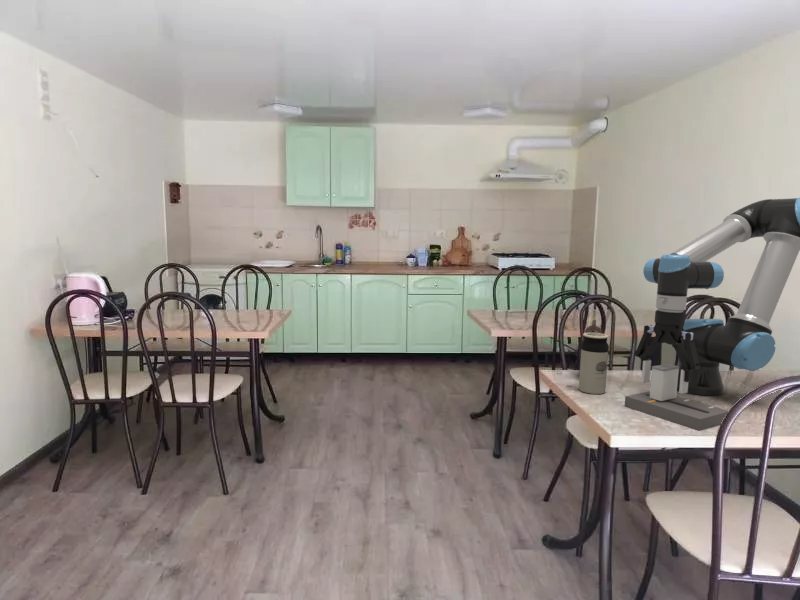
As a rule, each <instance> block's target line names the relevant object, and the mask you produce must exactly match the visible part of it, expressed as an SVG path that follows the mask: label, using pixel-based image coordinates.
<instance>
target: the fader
mask: <svg viewBox="0 0 800 600" xmlns="http://www.w3.org/2000/svg"><path fill="white" fill-rule="evenodd" d="M678 372H679V366H677V365H674V364H670V363H665V364H664V363H663V364H659V365H658V364H657V365H653V366H652V365H651V375H650V388H649V389H650V390H649V391H650V398H652V399H656V400H659V401H664V400H668V399H673V398H676V396H677V393H678V390H677V383H678Z"/></svg>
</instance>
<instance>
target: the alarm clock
mask: <svg viewBox="0 0 800 600" xmlns="http://www.w3.org/2000/svg"><path fill="white" fill-rule="evenodd" d="M584 333H601V334H603V329H601V327H600V326H597V319H592V323H591V325H589V326H587V327H585V331H584ZM583 341H584V336H583V337H582V340H581V343H580V348H579V362H580V361H581V346H582V343H583Z"/></svg>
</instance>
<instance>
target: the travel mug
mask: <svg viewBox="0 0 800 600" xmlns="http://www.w3.org/2000/svg"><path fill="white" fill-rule="evenodd" d="M583 336H584V341H583V343H582V346H581V345H580V348H581V361H580V360H579V378H578V379H579V380H578V390H579V391H581V392H583V393H584V394H585V393H586V394H589V393H590V395H600V394H601V395H602V394H604V393H606V390H607V389H606V388H607V373H608V363H609V362H608V360H609V347H610V346H609V345H608V342H607V341H608V338H609V335H608V334H606V333H602V334H601V333H585V332H584V333H583Z"/></svg>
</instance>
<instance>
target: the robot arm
mask: <svg viewBox="0 0 800 600" xmlns="http://www.w3.org/2000/svg"><path fill="white" fill-rule="evenodd" d="M761 237H762V238H763V240H764V241H765V246H764V247H763V250H762V253H761V255H760V257H759V260H758V262H757V264H756V267H755V269H754V271H753V274H752V276H751V279H750V281H749V283H748V286H747V288H746V290H745V293H744V295H743V297H742V301H740V305H739V307H738V310H737V312H736V314H733V315H732V316H730V317H729V316H728V319H727V322H726V323H725V322H724V320H723V319H720V318H688V319H686V313H685V310H686V309H687V299H688V291H689V289H690V290H691V289H697V290H699V289H700V290H703V289H705V290H708V289H715V288H717V287H720V285H721V284H722V283H723V281H724V278H725V276H724V275H725V272H724V268H723V267H722V266H721V265H720V264H719V263H717V262H714V261H713V262H711V261H709V260H710V259H713V258H714V257H715V256H717V255H719V254H720V253H723V252H724V251H725V250H727V249H728V248H730V247H732V246H733V245H736V244H737V243H744V242H747V241H748V240H750V239H753V238H761ZM799 253H800V197H797V198H795V197H794V198H778V199H777V198H773V199H772V198H770V199H768V198H767V199H762V200H758V201H756V202H752V203H750V204H748V205H745V206H743V207H742V208H739V209H737V210H736V211H734V212H733V213H730V214H729V215H726V217H724V219H723V221H722V222H721V223H720V224H718V225H717V226H715V227H713V228H711V229H710V230H708V231H706V232H704V233H703V234H702V235H700V236H699V237H696V238H695V239H693V240H691V241H690V242H688V243H686V244H684V245H682V247H680V248H678V249H676V250H675V251H673V252H671V253H670V254H667V253H664V254H662V255H661V257H659V258H658V257H657V258H651V259H648V260H647V261H646V263H645V264H644V266H643V269H642V271H643V272H642V273H643V276H644V278H645V280H646V281H648V282H649V283H654V284H657V291H656V302H655V303H656V304H655V308H656V310H655V311H654V312H655V313H654V323H655V325H653V324H647V325H644V326H643V334H642V336H641V339H640V341H639V343H638V346H637V348H636V350H635V353H634V356H635V357H637V358H639V359H640V367H639V368H640V371H641V384H647V383H651V371H652V360H651V356H652V355H653V354H654V353H655V351H656V349H658V347H659V346H660V345H661V344H667V345H671V346H672V348H674V350H675V353H676V355H677V356H678V358H677V359H678V361H677V364H676V366H679V372H678V383H677V391H678V393H679V394H681V395H682V394H692V395H699V396H719V395H720V396H721V395H722V394H723V393H724V383H723V379H722V375H721V372H720V364H722V365H726V366H730V367H733V368H736V369H738V370H747V371H758V370H760V369H763V368H764V367H765V366H767V365H768V364H769V363H770V362H771V360H772V359H773V357H774V355H775V352H776V346H775V345H776V340H775V339H774V337H773V336H772V334H773V329H772V328H771V326H770V323H771V320H772V318H773V315H774V312H775V310H776V308H777V307H778V306H777V305H778V303H779V300H780V299H781V297H782V294H783V291H784V289H785V287H786V284H787V282H788V279H789V276H790V274H791V272H792V269H793V267H794V264H795V262H796V260H797V257H798V256H799V255H798V254H799ZM653 333H654V334H655V336H654V337H653V338H652V335H653ZM651 338H652V340H651ZM650 341H651V342H650ZM649 343H650V344H649Z"/></svg>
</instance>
